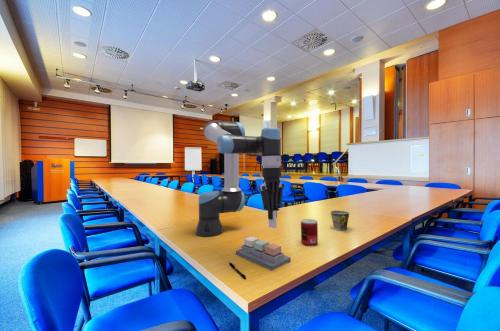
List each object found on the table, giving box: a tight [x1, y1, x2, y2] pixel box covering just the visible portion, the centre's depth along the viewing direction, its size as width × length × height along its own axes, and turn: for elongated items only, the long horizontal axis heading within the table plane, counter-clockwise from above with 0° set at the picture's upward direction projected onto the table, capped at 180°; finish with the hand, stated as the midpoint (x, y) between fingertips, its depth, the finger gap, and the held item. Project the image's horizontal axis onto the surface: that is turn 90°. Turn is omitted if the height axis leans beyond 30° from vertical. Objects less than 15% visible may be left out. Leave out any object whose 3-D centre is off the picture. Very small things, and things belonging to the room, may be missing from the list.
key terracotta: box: [265, 242, 282, 256], centre depth 85 cm, size 4×4×2 cm
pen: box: [228, 261, 247, 281], centre depth 79 cm, size 14×2×1 cm, turn 28°
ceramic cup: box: [330, 210, 350, 232], centre depth 126 cm, size 13×10×10 cm
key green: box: [254, 239, 270, 251], centre depth 90 cm, size 4×4×2 cm
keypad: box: [235, 243, 291, 271], centre depth 90 cm, size 21×11×4 cm, turn 43°
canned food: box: [300, 218, 319, 247], centre depth 105 cm, size 8×8×11 cm
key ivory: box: [243, 235, 260, 247], centre depth 94 cm, size 4×4×2 cm
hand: (272, 227), depth 85 cm, fingers closed
